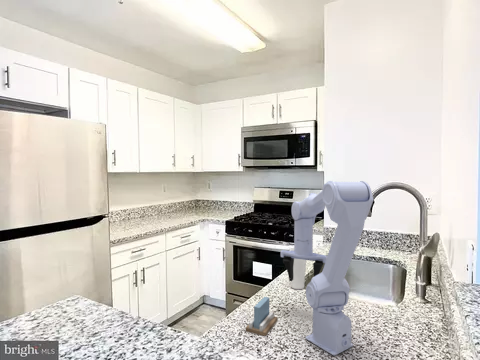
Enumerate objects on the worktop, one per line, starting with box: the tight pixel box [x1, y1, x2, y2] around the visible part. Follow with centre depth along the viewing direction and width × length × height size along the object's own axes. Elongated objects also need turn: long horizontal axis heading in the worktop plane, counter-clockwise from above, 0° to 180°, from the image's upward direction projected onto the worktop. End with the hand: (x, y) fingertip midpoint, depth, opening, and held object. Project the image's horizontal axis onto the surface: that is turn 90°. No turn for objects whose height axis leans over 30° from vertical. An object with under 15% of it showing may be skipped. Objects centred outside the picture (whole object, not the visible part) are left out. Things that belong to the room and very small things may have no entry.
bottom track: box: [245, 310, 278, 337], centre depth 85 cm, size 10×6×3 cm, turn 154°
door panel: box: [253, 296, 270, 329], centre depth 85 cm, size 8×2×6 cm, turn 154°
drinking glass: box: [288, 247, 307, 290], centre depth 116 cm, size 7×7×15 cm
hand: (303, 282), depth 92 cm, fingers open, 7 cm apart
